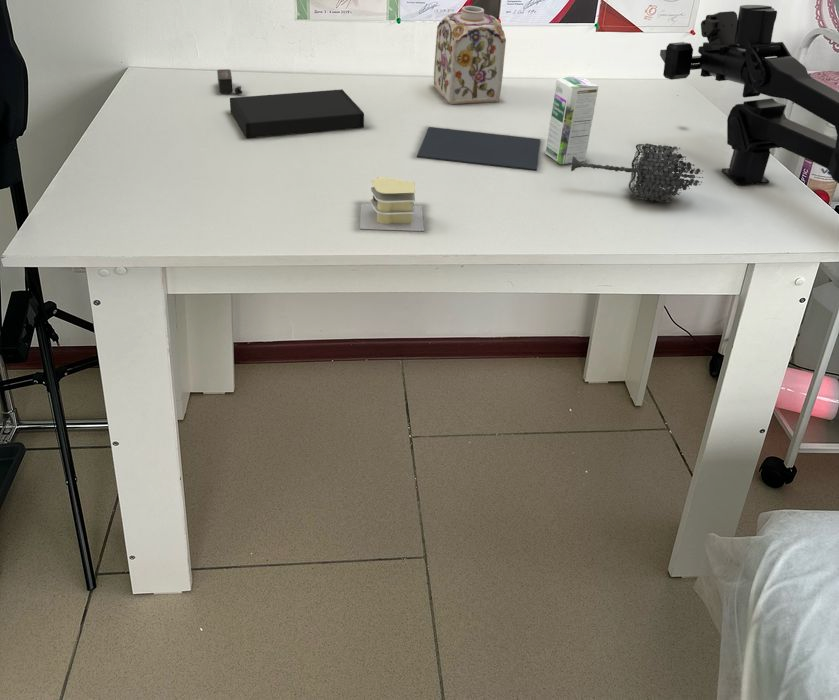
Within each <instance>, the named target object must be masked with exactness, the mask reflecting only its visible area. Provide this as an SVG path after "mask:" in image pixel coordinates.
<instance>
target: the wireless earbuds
mask: <svg viewBox="0 0 839 700" xmlns="http://www.w3.org/2000/svg"><path fill="white" fill-rule="evenodd" d="M216 73H217V86H218V92H219V94H221V95H230V94H233V91H234V93H235V94H236V95H241V94H243V90H242V87H241V86H240V85H237V86H236V87H235V88H234V87H233V77H232V70H231V69H229V68H227V69H225V68H224V69H223V68H221V69H217V70H216ZM233 88H234V89H233Z"/></svg>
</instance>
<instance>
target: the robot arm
mask: <svg viewBox="0 0 839 700" xmlns="http://www.w3.org/2000/svg"><path fill="white" fill-rule="evenodd" d="M777 15H778V11H777V10H775V8H774V7H773V6H770V5H764V4H743V5H740V6H739V8H738V14H737V12H736V11H734V10H733V11H731V10H730V11H719V12H716V13H713V14H706V16H705V19H703V20H702V21H701V22H700V33H701V36H702V37H703V38H706V39H707V41H705V42H702V45H701V46H698V49H697V53H698V54H699V55H694V56H693V54H694V47H693V46H692V43H690V42H685V41H680V42H669V43H668V45H666V49H660V50H659V56H660V58H661V60H662V61H663V63H664V64H663V72H662V73H663V74H662V75H663V77H664V78H665V79H667V80H671V81H673V80H681V79H683V80H684V79H687V78H688V77H689V76H690V75H691V71H694V70H700V77H703V78H707V77H708V78H709V77H715V78H714V80H715V81H718V82H723V81H728V82H734V83H737V84H740V85H743V89H742V97H743V98H744V99H745V98H752V97H759V96H760V95H764V96H767V97H770V98H762V99H755V100H753V99H752V100H747V101H743V103H737V104H735V105H734V106H732V108H731V109H730V111H729V114H728V116H727V121H726V144H727V145H729V146H730V147H731V150H733V151H732V156H731V159H730V163H729V167H726V168H725V167H724V168H721V173H722V174H723V175H725V176H726V177H727V178H728V179H730V180H731V181H732V182H733V183H734V184H736V185H737V186H749V185H750V186H751V185H768V184H770V180H769V179H768V178H766V176H765V173H766V169H767V166H768V162H769V159H770V156H771V149H780V148H782V149H784V150H786V151H788V152H791V153H792V154H795V155H797V156H799V157H801V158H803V159H806V160H808V161H809V162H812V163H814V164H816V165H818V166H820V167H823V168H825V169H827V171H828V173H829V175H830V177H831V178H832V180H833V181H834V182H836V183H837V184H838V185H839V91H838V90H835V89H834V88H833V87H831V86H828V85H826V84H824V83H822V82H821V81H819V80H817V79H815V78H813V76H811V75H810V74H809V73H808V70H807V67H806V66H805V65H803V63H801V62H800V61H799V60H798V59H796V57H794V56H792V54H791V53H790V51H789V50H788V48H787V46H786V44H785V43H784V42H783V41H772V39H773V34H774V29H775V22H776V20H777ZM774 98H777V99H784V100H788V101H790V102H792V103H794V104H795V105H797V106H799V107H801V108H802V109H804V110H806V111H808V112H809V113H811V114H813V115H815V116H816V117H818V118H820V119H822V120H823V121H826V122H827V123H829V124H831V125H832V126H834V128H835V132H836V139H835V138H834V137H833V138H832V137H830V136H828V135H826V134H824V133H821V132H819V131H816V130H814V129H812V128H810V127H807V126H805V125H803V124H801V123H798V122H795V121H793V120H791V119H788V118H787V116H786V114H785V110H786V108H787V104H786V103H780V102H778V101H776V100H775V99H774Z"/></svg>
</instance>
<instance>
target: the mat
mask: <svg viewBox="0 0 839 700" xmlns="http://www.w3.org/2000/svg"><path fill="white" fill-rule="evenodd" d="M540 145H541V138H534V137H526V136H525V137H524V136H516V135H507V134H497V133H489V132H480V131H469V130H461V129H451V128H443V127H433V126H428V127H427V130H426V132H425V135H424V137H423V140H422V142H421V145H420V147H419V150H418V151H417V155H416V158H421V159H429V160H438V161H447V162H457V163H465V164H474V165H482V166H491V167H498V168H499V167H500V168H508V169H519V170H528V171H535V172H536V171H537V169H538V162H539V155H540V154H539V152H540Z"/></svg>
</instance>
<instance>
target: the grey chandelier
mask: <svg viewBox="0 0 839 700" xmlns="http://www.w3.org/2000/svg"><path fill="white" fill-rule="evenodd" d="M635 149H636V151H635V153H634V156H633V159H632V161H631V167H625V166H620V167H619V166H613V165H610V164H606V165H602V164H596V163H588V162H583V161H581V162H580V161H578V160H577V159H576V157H574V156H573V159H572V163H571V167H570V172H573V171H575V170H576V169H579V168H591V169H599V170H600V169H601V170H607V171H615V172H619V171H620V172H625V173H630V177H631V178H630V180H629V183H628V189H629V191H630V192H631V193H630V195H628V197H629V198H634V199H638V200H645V201H646V200H647V201H649V200H650V201H656V202H662V203H663V202H670V201H671V202H673V201H674V197H676V196H680V195H681V193H682V192H681V191H682V190H683V191H687V189H688V190H690V189H691V188H690V187H692V185H693V186H694V187H697V186H698V185H699V186H701V183H703V181H700V180H698V178H699V179H701V178H702V179H704V177H703V176H702V177H701V176H696V175H699V174H700V175H702V173H703V172H704V170H701V169H700V168H699V167H697V168H696V167H695V164H694V163H693V164H692V162H690V161H687V156H686V155H682V154H681V153H679V152H678V151H679V150H681V147H678V146H675V145H674V146H671V145H665V144H664V145H662V144H658V145H656V144H651V143H645V144H644V143H637V144H636V145H635ZM692 166H693V167H692ZM701 171H702V172H701ZM687 178H688V179H687ZM695 178H697V179H695ZM672 197H673V198H672Z"/></svg>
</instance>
